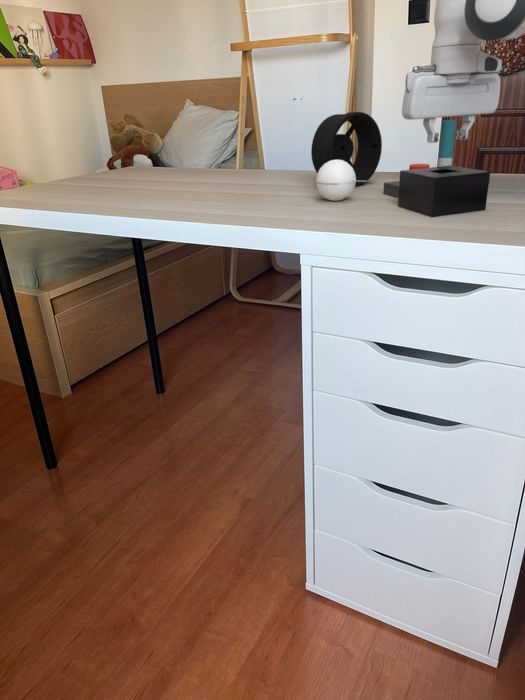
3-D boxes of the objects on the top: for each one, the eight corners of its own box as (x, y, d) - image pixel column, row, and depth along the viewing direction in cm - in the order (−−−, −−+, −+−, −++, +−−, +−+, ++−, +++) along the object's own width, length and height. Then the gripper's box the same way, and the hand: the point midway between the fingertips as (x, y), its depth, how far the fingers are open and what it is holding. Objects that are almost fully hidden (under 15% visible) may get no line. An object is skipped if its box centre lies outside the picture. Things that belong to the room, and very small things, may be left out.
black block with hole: (447, 200, 93) (451, 165, 91) (485, 210, 85) (490, 171, 82) (397, 207, 91) (399, 170, 88) (431, 217, 82) (435, 177, 80)
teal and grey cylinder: (444, 181, 112) (450, 119, 107) (452, 182, 110) (459, 120, 105) (433, 182, 112) (438, 120, 106) (441, 184, 109) (447, 121, 104)
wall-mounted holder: (349, 110, 116) (383, 109, 108) (348, 178, 122) (380, 182, 114) (298, 114, 108) (330, 114, 101) (300, 187, 115) (330, 192, 107)
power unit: (428, 189, 105) (429, 168, 103) (452, 195, 98) (455, 172, 96) (383, 194, 102) (384, 172, 100) (405, 200, 95) (407, 177, 94)
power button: (421, 172, 100) (422, 163, 100) (432, 175, 97) (433, 165, 97) (405, 174, 100) (405, 164, 99) (415, 176, 96) (416, 166, 96)
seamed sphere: (307, 201, 99) (307, 160, 96) (335, 195, 103) (335, 156, 100) (347, 207, 92) (347, 163, 89) (374, 201, 96) (376, 159, 93)
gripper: (416, 65, 96) (410, 146, 102) (509, 60, 101) (499, 138, 107) (397, 67, 101) (393, 144, 107) (487, 63, 106) (478, 136, 113)
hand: (447, 141), depth 107 cm, fingers open, 5 cm apart
